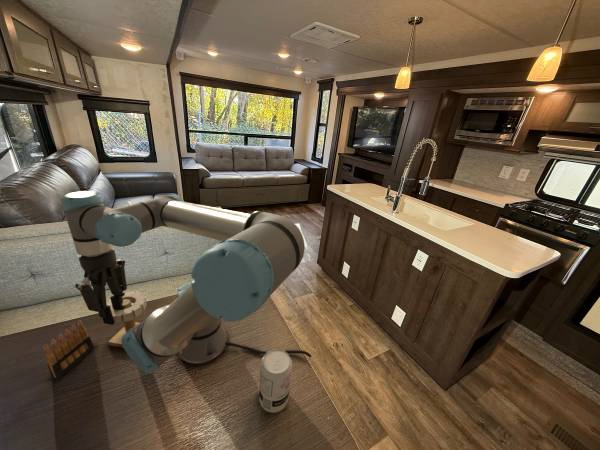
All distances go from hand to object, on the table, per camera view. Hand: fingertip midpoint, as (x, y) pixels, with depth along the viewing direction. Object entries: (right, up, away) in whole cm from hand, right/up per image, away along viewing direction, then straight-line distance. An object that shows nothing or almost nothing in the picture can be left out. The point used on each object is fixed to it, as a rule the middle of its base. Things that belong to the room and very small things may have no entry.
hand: (114, 318), depth 74 cm
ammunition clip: (-11, -13, -1) cm, 17 cm away
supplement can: (+48, -20, -5) cm, 53 cm away
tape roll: (+1, +1, +4) cm, 4 cm away
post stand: (0, -9, +9) cm, 13 cm away
